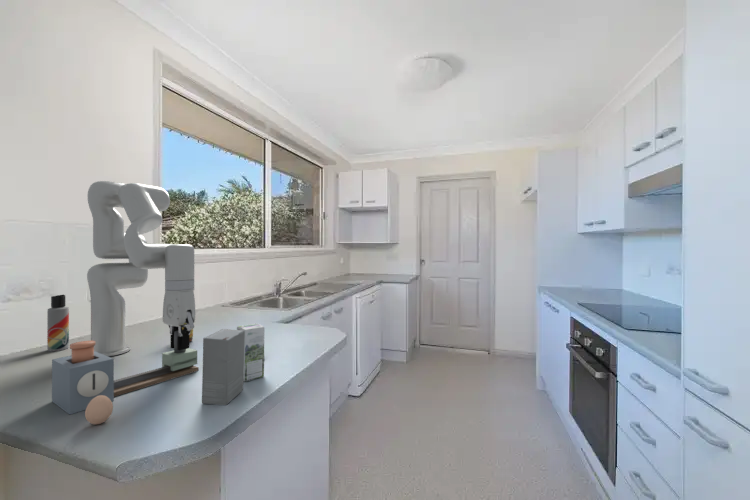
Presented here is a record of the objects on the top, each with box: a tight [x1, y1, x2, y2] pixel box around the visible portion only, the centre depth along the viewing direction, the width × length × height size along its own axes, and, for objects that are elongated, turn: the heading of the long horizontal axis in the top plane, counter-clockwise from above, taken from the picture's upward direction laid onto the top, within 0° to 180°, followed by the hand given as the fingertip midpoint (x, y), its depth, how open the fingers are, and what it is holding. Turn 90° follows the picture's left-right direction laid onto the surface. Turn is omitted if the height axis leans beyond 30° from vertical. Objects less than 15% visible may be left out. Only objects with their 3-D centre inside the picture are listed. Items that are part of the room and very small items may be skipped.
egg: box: [84, 395, 114, 425], centre depth 69 cm, size 4×4×6 cm
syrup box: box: [236, 323, 265, 383], centre depth 94 cm, size 6×6×14 cm
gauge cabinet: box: [51, 351, 115, 415], centre depth 79 cm, size 13×8×10 cm, turn 58°
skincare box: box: [201, 328, 245, 406], centre depth 81 cm, size 8×7×16 cm
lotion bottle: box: [46, 294, 70, 352], centre depth 122 cm, size 6×6×20 cm
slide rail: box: [114, 365, 199, 397], centre depth 92 cm, size 7×21×3 cm, turn 148°
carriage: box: [161, 331, 198, 371], centre depth 98 cm, size 6×7×10 cm
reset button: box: [69, 340, 96, 364], centre depth 79 cm, size 5×5×5 cm
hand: (180, 347), depth 98 cm, fingers closed on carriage, 3 cm apart
